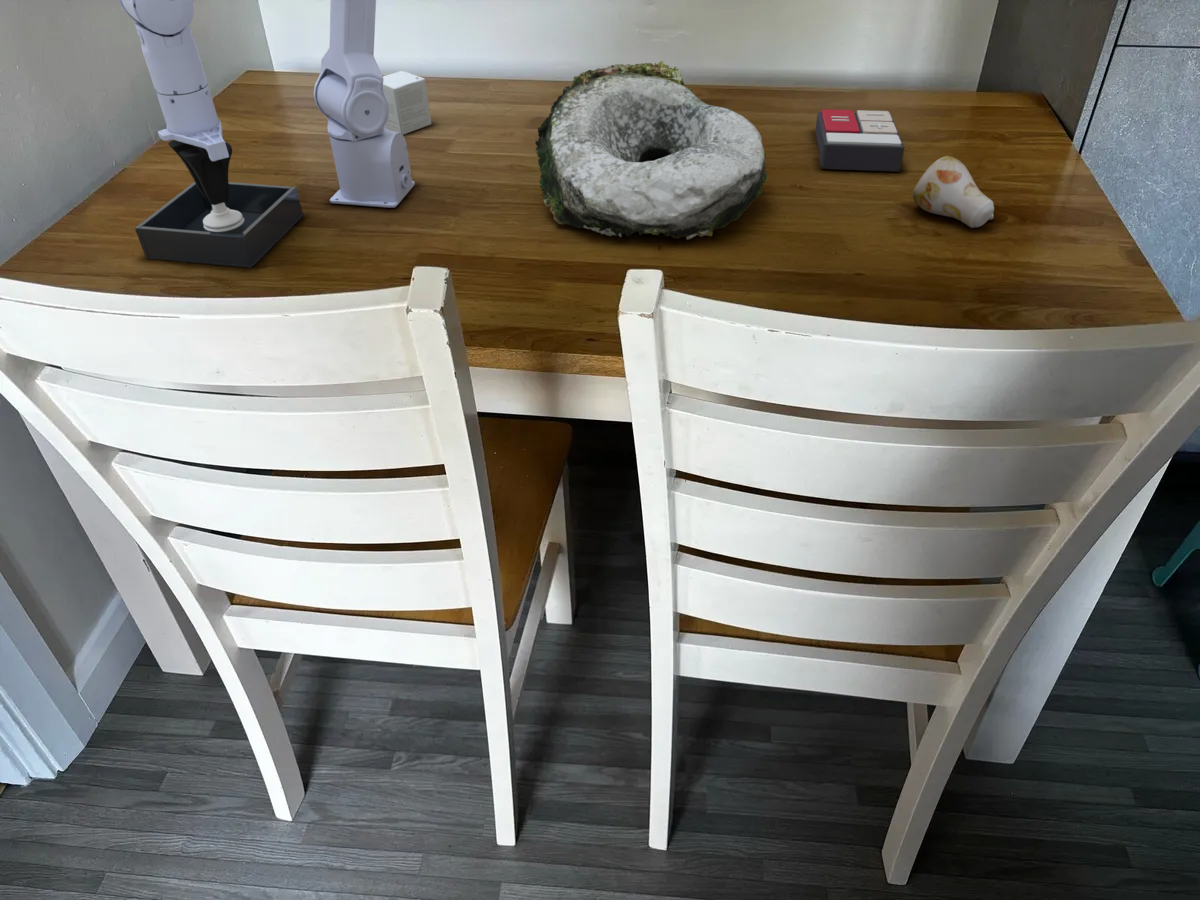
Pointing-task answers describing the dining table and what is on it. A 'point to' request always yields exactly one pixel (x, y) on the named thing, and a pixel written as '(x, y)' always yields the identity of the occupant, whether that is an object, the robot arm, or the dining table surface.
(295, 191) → the square open tray
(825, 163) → the calculator
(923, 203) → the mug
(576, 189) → the stone basin
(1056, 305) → the dining table surface
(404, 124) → the product box
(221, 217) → the chess piece
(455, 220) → the dining table surface
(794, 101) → the dining table surface
